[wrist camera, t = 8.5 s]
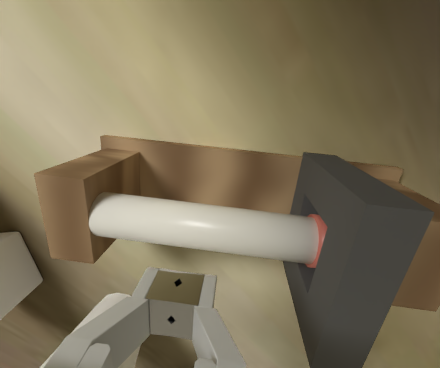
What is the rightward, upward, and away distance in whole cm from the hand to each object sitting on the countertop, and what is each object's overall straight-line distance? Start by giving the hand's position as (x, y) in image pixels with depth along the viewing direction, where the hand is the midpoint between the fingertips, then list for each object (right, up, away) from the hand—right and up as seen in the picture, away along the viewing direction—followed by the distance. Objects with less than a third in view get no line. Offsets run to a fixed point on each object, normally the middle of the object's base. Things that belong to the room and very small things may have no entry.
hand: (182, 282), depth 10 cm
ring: (+9, +2, +10) cm, 13 cm away
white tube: (+3, +2, +7) cm, 8 cm away
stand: (+4, +3, +12) cm, 13 cm away
